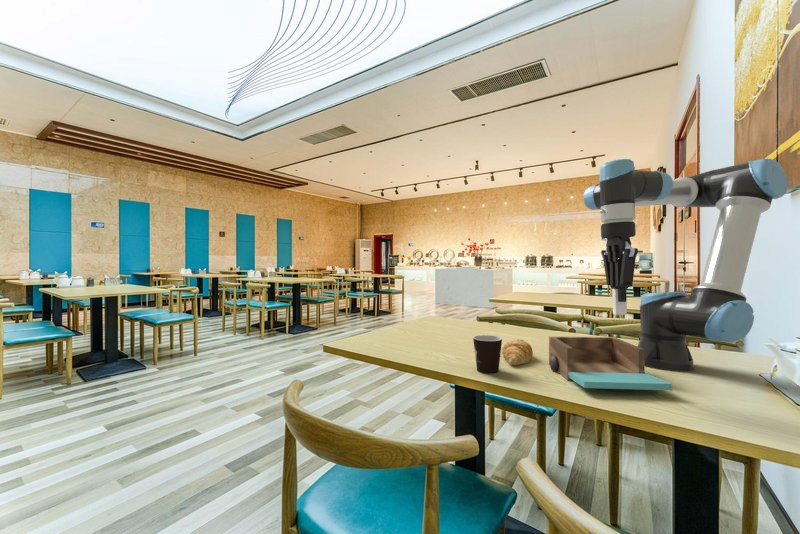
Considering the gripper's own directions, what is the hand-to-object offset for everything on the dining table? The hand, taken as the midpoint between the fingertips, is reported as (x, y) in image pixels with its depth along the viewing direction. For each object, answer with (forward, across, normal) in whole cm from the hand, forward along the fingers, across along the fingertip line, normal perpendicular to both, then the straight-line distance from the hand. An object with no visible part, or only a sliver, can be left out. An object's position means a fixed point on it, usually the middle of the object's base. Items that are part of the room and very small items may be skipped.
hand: (619, 314), depth 89 cm
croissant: (+20, -28, -19) cm, 39 cm away
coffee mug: (+19, -16, -31) cm, 39 cm away
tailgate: (+17, -5, -1) cm, 18 cm away
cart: (+19, -14, -1) cm, 24 cm away
